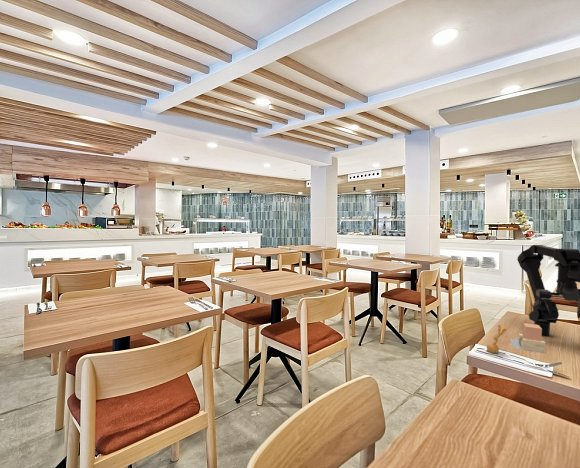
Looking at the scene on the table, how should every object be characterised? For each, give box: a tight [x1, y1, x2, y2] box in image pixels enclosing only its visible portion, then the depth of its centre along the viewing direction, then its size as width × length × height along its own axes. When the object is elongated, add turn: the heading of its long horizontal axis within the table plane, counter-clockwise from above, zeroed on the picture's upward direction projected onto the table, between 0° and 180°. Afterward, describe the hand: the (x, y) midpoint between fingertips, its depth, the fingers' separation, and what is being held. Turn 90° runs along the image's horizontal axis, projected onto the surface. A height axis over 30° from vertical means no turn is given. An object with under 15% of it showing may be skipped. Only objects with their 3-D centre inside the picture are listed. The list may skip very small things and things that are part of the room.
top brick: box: [521, 322, 543, 341], centre depth 128 cm, size 5×5×5 cm
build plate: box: [508, 338, 547, 354], centre depth 131 cm, size 12×10×1 cm
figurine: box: [486, 323, 507, 354], centre depth 123 cm, size 8×6×12 cm
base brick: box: [518, 333, 546, 353], centre depth 129 cm, size 7×7×4 cm
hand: (564, 316), depth 132 cm, fingers open, 9 cm apart
